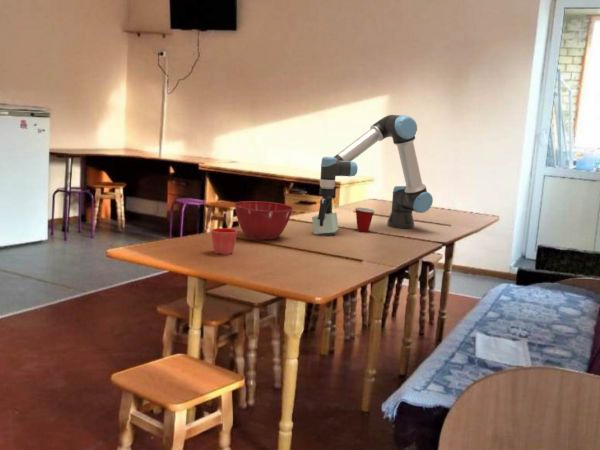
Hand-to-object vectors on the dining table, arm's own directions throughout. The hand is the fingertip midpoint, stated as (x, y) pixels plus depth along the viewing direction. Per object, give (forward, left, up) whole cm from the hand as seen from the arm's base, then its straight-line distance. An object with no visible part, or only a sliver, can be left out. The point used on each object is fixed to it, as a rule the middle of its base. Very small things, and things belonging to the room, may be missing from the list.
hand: (324, 230), depth 351 cm
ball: (-3, 0, +1) cm, 3 cm away
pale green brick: (-1, 0, 0) cm, 1 cm away
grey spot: (0, 0, -1) cm, 1 cm away
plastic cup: (-16, -21, -2) cm, 26 cm away
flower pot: (+24, +71, -2) cm, 75 cm away
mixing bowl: (+23, +28, -2) cm, 36 cm away
